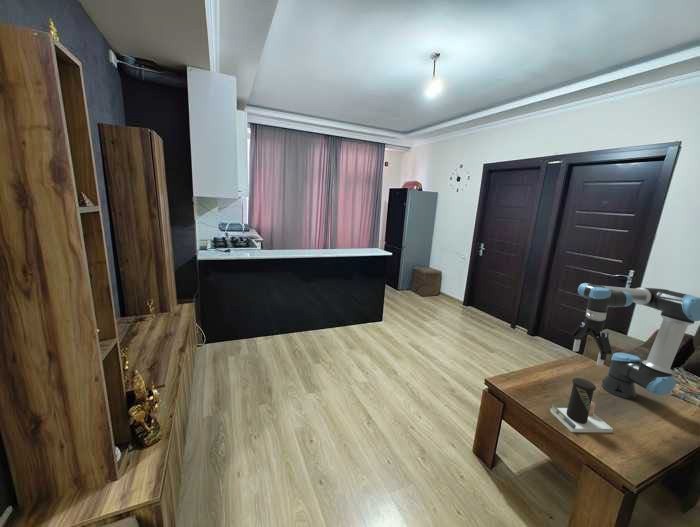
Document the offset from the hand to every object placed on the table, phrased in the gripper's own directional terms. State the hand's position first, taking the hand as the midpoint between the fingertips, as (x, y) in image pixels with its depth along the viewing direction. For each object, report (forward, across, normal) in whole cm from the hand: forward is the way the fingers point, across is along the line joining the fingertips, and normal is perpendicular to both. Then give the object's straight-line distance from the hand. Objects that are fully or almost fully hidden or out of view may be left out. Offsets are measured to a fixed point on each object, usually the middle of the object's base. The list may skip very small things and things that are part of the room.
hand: (587, 357), depth 143 cm
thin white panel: (+30, +8, -6) cm, 32 cm away
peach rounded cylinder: (+28, +4, +1) cm, 29 cm away
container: (+28, +8, -8) cm, 30 cm away
